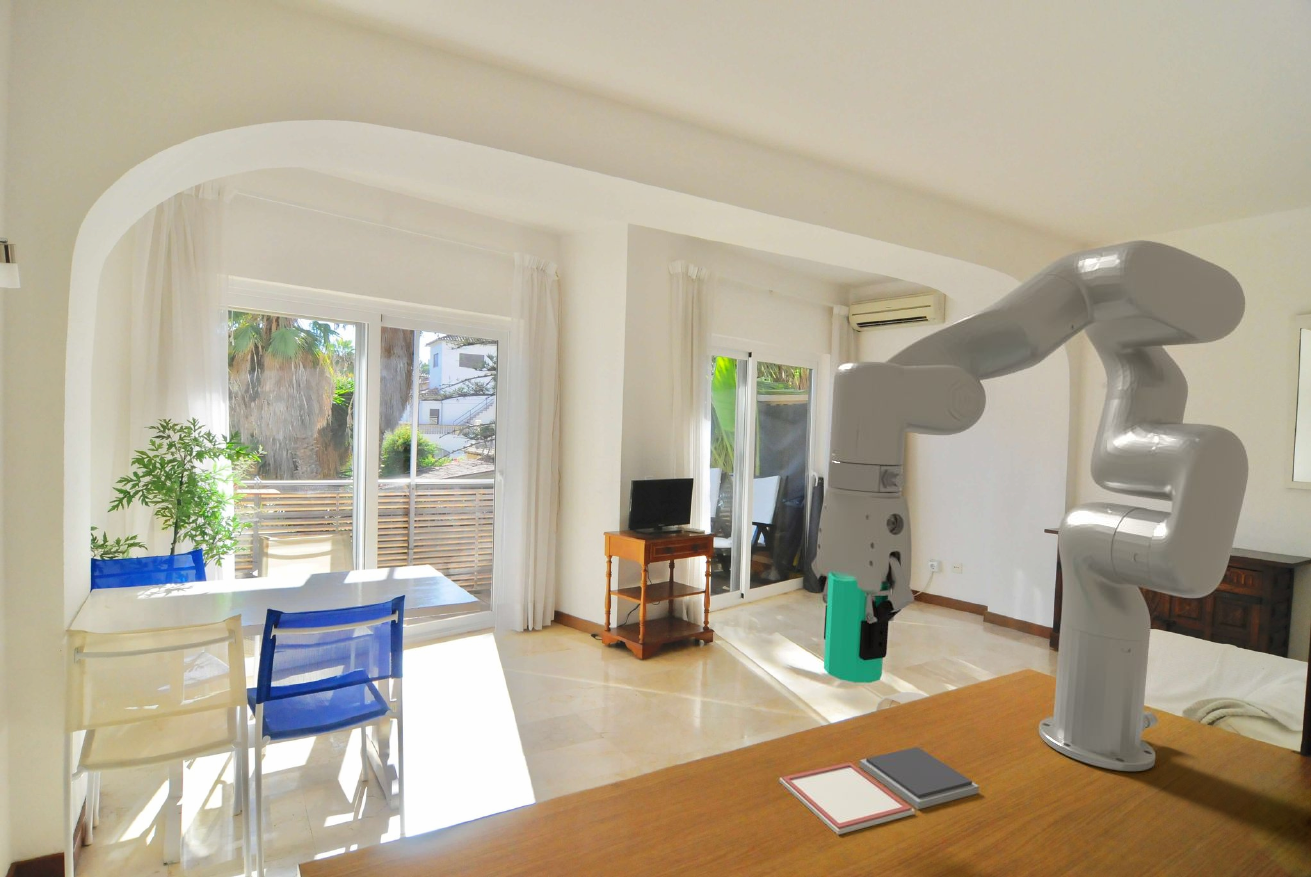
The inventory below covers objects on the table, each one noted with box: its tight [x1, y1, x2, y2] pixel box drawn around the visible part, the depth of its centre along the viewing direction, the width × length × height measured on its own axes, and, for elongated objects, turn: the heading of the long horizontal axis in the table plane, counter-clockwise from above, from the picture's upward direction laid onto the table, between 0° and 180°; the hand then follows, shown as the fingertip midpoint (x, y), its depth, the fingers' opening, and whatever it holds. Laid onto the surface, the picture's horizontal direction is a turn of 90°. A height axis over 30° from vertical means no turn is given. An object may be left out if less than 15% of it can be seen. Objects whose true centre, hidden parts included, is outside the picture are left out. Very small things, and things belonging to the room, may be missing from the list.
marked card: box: [778, 761, 915, 836], centre depth 73 cm, size 10×10×1 cm
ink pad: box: [859, 746, 980, 810], centre depth 78 cm, size 9×9×1 cm
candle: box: [823, 573, 884, 684], centre depth 72 cm, size 6×6×12 cm
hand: (854, 646), depth 73 cm, fingers closed on candle, 4 cm apart
